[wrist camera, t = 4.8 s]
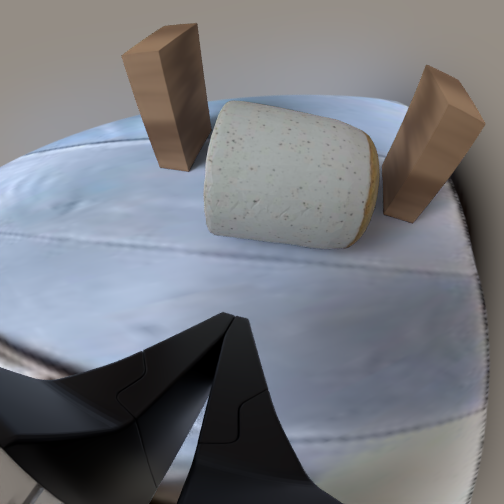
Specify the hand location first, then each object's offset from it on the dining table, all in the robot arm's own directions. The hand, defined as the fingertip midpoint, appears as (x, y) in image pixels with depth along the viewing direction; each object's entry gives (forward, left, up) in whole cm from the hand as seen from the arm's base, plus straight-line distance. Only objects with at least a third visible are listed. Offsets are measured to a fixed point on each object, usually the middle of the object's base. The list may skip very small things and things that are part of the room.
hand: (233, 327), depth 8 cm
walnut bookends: (+12, -6, -7) cm, 15 cm away
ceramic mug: (+9, -4, -7) cm, 12 cm away
